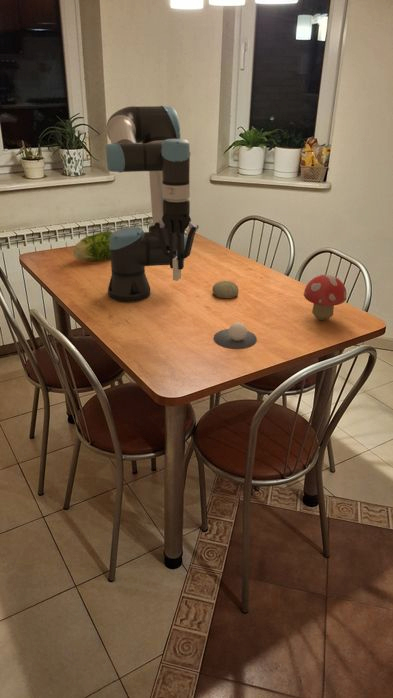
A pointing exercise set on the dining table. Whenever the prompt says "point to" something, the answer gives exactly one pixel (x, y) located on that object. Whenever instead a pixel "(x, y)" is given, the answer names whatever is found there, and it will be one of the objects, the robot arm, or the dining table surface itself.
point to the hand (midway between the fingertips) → (177, 278)
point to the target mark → (226, 341)
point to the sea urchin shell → (225, 289)
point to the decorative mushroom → (325, 295)
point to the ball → (237, 331)
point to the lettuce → (93, 247)
